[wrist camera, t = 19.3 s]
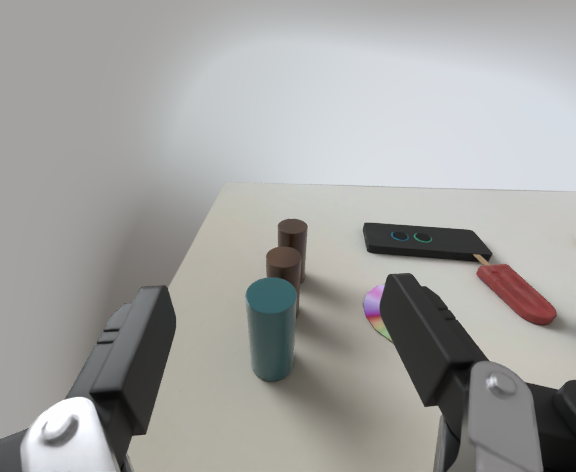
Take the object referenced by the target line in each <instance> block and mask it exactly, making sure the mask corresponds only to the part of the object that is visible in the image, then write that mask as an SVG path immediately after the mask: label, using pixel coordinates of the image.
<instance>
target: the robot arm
mask: <svg viewBox="0 0 576 472" xmlns="http://www.w3.org/2000/svg"><path fill="white" fill-rule="evenodd" d="M379 309H380V315H381V318H382V321H383V323H384V325H385V327H386V329H387V331H388V333H389V335H390V337H391V339H392V341H393V343H394V345H395V347H396V349H397V351H398V353H399V355H400V357H401V360H402V362H403V364H404V366H405V368H406V370H407V372H408V374H409V376H410V378H411V380H412V382H413V384H414V386H415V388H416V390H417V392H418V394H419V396H420V398H421V400H422V402H423V404H424V406H425V407H428V406H439V408H440V410H441V412H442V415H441V417H440V422H439V430H438V437H437V445H436V453H435V460H434V468H433V472H576V380H570V381H568V382H566V383H565V384H564V385H563V386H562V387H561V388H560V389H559V390H557V389H553V388H548V387H544V386H539V385H535V384H530V383H526V382H524V381H523V380H522V379H521V378H520V377H519V376H518V375H517V374H516V373H514V372H513V371H511V370H510V369H508V368H507V367H505V366H503V365H501V364H498V363H495V362H491V361H489V360H488V359H487V357H486V356H485V355H484V354H483V352H482V351H481V350H480V348H479V347H478V346H477V345H476V343H475V342H474V341H473V339H472V338H471V337H470V336H469V334H468V333H467V332H466V330H465V329H464V328H463V327H462V325H461V324H460V323H459V321H458V320H456V319H455V316H454V315H453V314H452V312H451V311H450V310H448V307H447V306H446V305H445V303H444V302H443V301H442V300H441V298H440V297H439V296H438V295H437V294H435V293H434V292H433V291H431V290H430V289H429V288H427V287H426V286H421V285H420V284H419V283H418V281H417V280H416V279H415V277H414V276H413V275H412V274H410V273H402V274H389V275H388V277H387V279H386V283H385V286H384V290H383V293H382V297H381V300H380V305H379ZM175 330H176V316H175V312H174V308H173V305H172V302H171V298H170V295H169V291H168V288H167V287H166V286H165V285H164V286H144V287H141V288H140V290H139V291H138V293H137V296H136V297H135V299H134V301H133V303H124V304H123V305H122V306H121V307H120V308H119V309H118V310H117V311H116V312H115V313H114V314H113V315H112V316H111V317H110V319H109V321H108V323H107V325H106V326H105V328H104V332H103V333H102V334H101V335H100V337H99V339H98V341H97V345H95V346H94V348H93V350H92V352H91V353H90V355H89V357H88V359H87V361H86V362H85V364H84V366H83V368H82V370H81V371H80V373H79V375H78V377H77V379H76V380H75V382H74V384H73V386H72V388H71V390H70V391H69V393H68V395H67V396H66V398H65V399H64V400H63V401H61V402H59V403H57V404H55V405H53V406H52V407H50V408H49V409H47V410H46V411H45V412H44V413H42V414H41V415H40V416H39V417H38V418H37V419H36V420H35V421H34V422H33V424H32V425H31V426H30V427H29V428H27V429H25V430H23V431H20V432H18V433H15V434H12V435H10V436H7V437H5V438H2V439H0V472H134V469H133V467H132V464H131V461H130V459H129V456H128V454H127V450H128V447H129V444H130V441H131V438H132V436H135V435H145V434H146V432H147V429H148V425H149V422H150V418H151V415H152V411H153V408H154V404H155V401H156V397H157V394H158V390H159V387H160V383H161V380H162V376H163V373H164V369H165V366H166V362H167V359H168V355H169V352H170V348H171V345H172V341H173V338H174V334H175Z"/></svg>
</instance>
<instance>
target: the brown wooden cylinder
mask: <svg viewBox="0 0 576 472" xmlns="http://www.w3.org/2000/svg"><path fill="white" fill-rule="evenodd" d="M266 269H267V278H269V277H275V278H281V279H284V280H286V281H288V282H289V283H291V284H292V285H293V286H294V288H295V290H296V293H297V301H296V318H297V316H298V313H299V294H300V275H301V254H300V253H299V251H297V250H296V249H294V248H291V247H277V248H274V249H272V250H270V251H269V252H268V253H267V255H266Z"/></svg>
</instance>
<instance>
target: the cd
mask: <svg viewBox="0 0 576 472" xmlns="http://www.w3.org/2000/svg"><path fill="white" fill-rule="evenodd" d="M384 286H385V284H384V285H380V286H376V287H375V288H373V289H372V290H371V291H370V292H368V293H367V295H366V298H365V300H364V303H363V305H364V309H365V314H366V317H367V319H368V320H369V321H370V323H371V324H372V325H373V327H374V328H375V329H376V330H377V331H378V332H379V333H381V334H382V335H384V336H385V337H386V338H388V339H389V340H390V341H392V339H391V337H390V335H389V333H388V331H387V329H386V327H385V325H384V323H383V321H382V318H381V315H380V309H379V305H380V300H381V297H382V293H383V290H384ZM392 342H393V341H392Z"/></svg>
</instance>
